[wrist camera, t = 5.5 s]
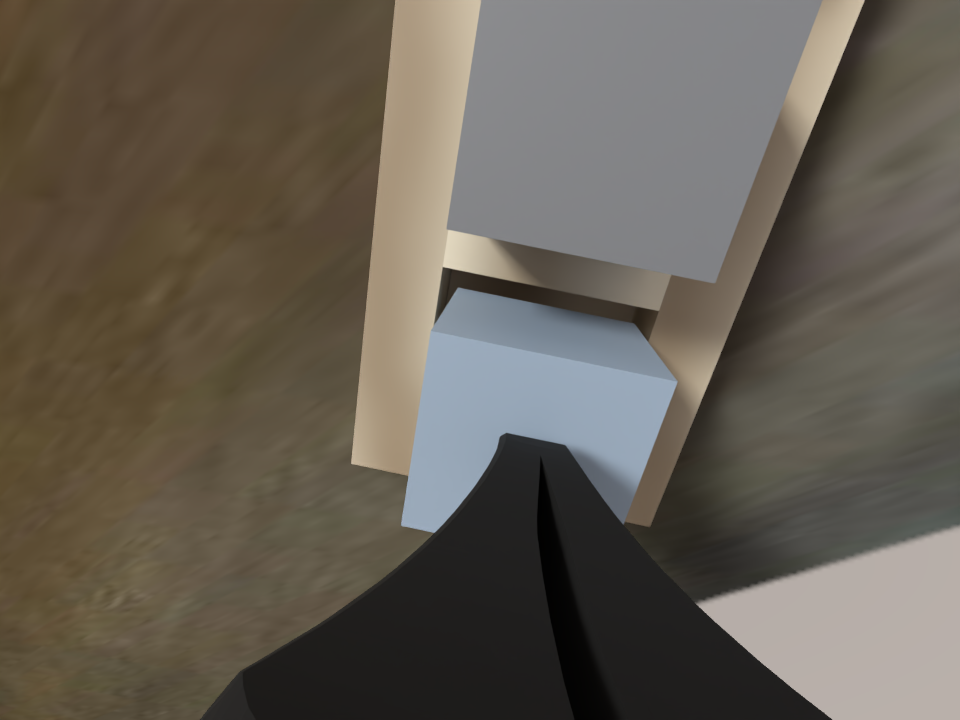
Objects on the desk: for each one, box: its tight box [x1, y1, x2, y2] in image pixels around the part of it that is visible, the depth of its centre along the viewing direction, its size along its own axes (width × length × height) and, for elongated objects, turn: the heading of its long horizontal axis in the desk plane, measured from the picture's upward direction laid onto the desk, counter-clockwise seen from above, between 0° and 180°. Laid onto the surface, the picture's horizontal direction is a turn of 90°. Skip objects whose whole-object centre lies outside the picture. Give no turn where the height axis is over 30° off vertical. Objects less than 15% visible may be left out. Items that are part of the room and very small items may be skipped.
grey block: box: [446, 0, 823, 284], centre depth 9 cm, size 5×5×4 cm
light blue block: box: [401, 288, 677, 533], centre depth 12 cm, size 5×5×4 cm
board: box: [351, 0, 865, 527], centre depth 12 cm, size 10×22×2 cm, turn 169°
